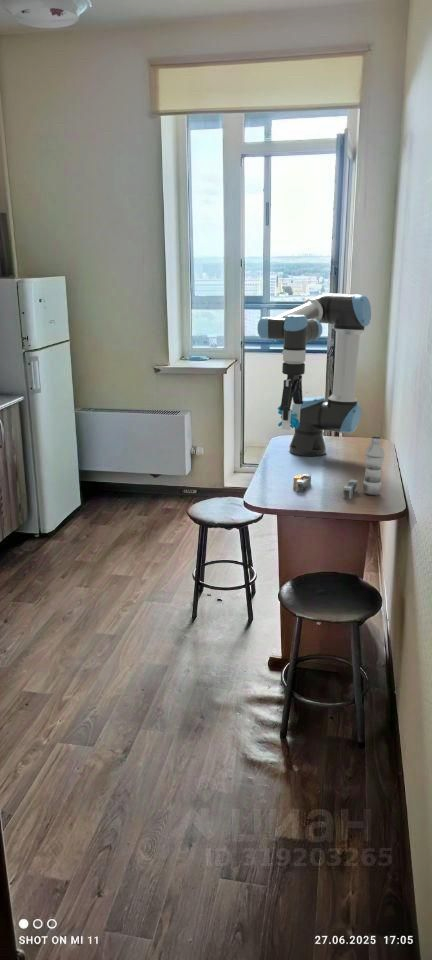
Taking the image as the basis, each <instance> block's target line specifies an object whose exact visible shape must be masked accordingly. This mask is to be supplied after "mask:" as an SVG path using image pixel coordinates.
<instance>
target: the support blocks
mask: <svg viewBox="0 0 432 960" xmlns="http://www.w3.org/2000/svg"><path fill="white" fill-rule="evenodd" d="M311 484H312V474H311V473H303V474H302V475H301V474H296V475H295V476H294V477H293V486H292V489H295V492H297V493H304V492H306V490H307V489H308V488H309V487H310V486H311ZM357 491H358V480H357V479H356V480H355V479H349V480H348V484H347V485H344V487H343V491H342V492H343V495H342V499H345V500H351V499H352V498H353V494H355V493H357Z"/></svg>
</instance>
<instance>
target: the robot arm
mask: <svg viewBox="0 0 432 960" xmlns="http://www.w3.org/2000/svg"><path fill="white" fill-rule="evenodd" d="M371 318H372V307H371V302H370V300H369V298H368V297H367V296H366V295H364V294H359V293H334V292H333V293H331V292H329V293H324V294H323V293H322V294H320V295H316V296H314V297H311V298H308V299H306V300H305V301H304V302H302V303H301V305H299V306H297V307H294V308H292V309H289V310H287V311H284V312H283V313H280V314H278V315H276V316H263V317H261V318H259V321H258V322H257V334H258V336H259V337H260V338H261V339H267V340H277V341H278V340H280V341H281V340H282V341H283V347H282V348H283V349H282V351H281V355H282V361H283V363H282V365H281V366H282V367H281V370H282V374H284V375H286V376H287V377H286V379H284V380H283V386H282V387H283V388H282V393H281V394H282V396H281V403H280V405H281V407H280V410H282V415H281V416H282V418H281V421H282V425H281V430H287V431H289V430H291V427H290V425H291V424H290V418H291V411H290V409H291V410H292V411H293V412H292V414H295V413H296V414H297V417H296V419H298V420H299V424H300V426H299V427H298V428H297V429H295V428H294V433H293V436H292V438H291V442H290V444H289V452H290V453H291V454H294V455H297V456H303V457H319V456H323V455H325V454H326V452H327V447H326V443H325V439H324V435H323V432H324V431H328V432H329V431H330V432H336V433H341V434H343V433H344V434H352V433H353V432H355V431H356V429H357V428H358V426H359V424H360V420H361V417H362V407H361V405H360V404H358V399H357V397H355V390H356V389H355V388H356V387H355V386H356V378H357V368H358V367H357V365H358V357H359V346H360V335H361V334H362V333H363V332H364V331H365V328H366V327H367V326H369V325H370V323H371V320H372V319H371ZM322 324H330V325H334V327H333V329H334V331H335V332H336V334H337V338H336V347H335V361H334V370H333V381H332V382H333V383H332V394H331V395H330V396H329V397H327V401H326V398H325V396H321V395H320V396H319V395H318V396H315V395H314V396H307V397H303V383H302V382H303V381H302V380H303V375H304V374H306V373H305V371H306V369H305V368H306V364H305V362H306V353H307V352H306V349H307V343H310V342H314V341H315V340H318V339H319V338H320V337H321V336H322V334H323V326H322ZM292 401H293V403H292Z"/></svg>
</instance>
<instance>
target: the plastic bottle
mask: <svg viewBox="0 0 432 960" xmlns="http://www.w3.org/2000/svg"><path fill="white" fill-rule="evenodd" d="M382 441H383V438H382V437H380V436H371V437H370V442H369V446H368V447H367V448H366V449H365V455H364V456H365V473H364V479H363V482H362V492H363V493H365V494H367V495H370V496H378V495H379V494H380V493H381V492H382V488H383V486H382V471H383V470H382V468H383V462H384V458H385V454H386V453H385V450H384V448H383V447H382V445H381V444H382Z"/></svg>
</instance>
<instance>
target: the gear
mask: <svg viewBox="0 0 432 960" xmlns="http://www.w3.org/2000/svg"><path fill="white" fill-rule="evenodd" d="M280 407H281V404H280V405H279V406H278V407H277V410H278V411H277V413H278V414H279V415H280V418H281V419H282V410H280ZM290 411H291V418H290V429H294V430H295V429H297V428H298V427H299V426H300V424H299V420H298V419H296V417H297V414H296V413H295V414H292V412H293V411H292V408H290ZM277 426H278V427H282V420H281V421H280V422H279V423H278V424H277Z"/></svg>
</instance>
